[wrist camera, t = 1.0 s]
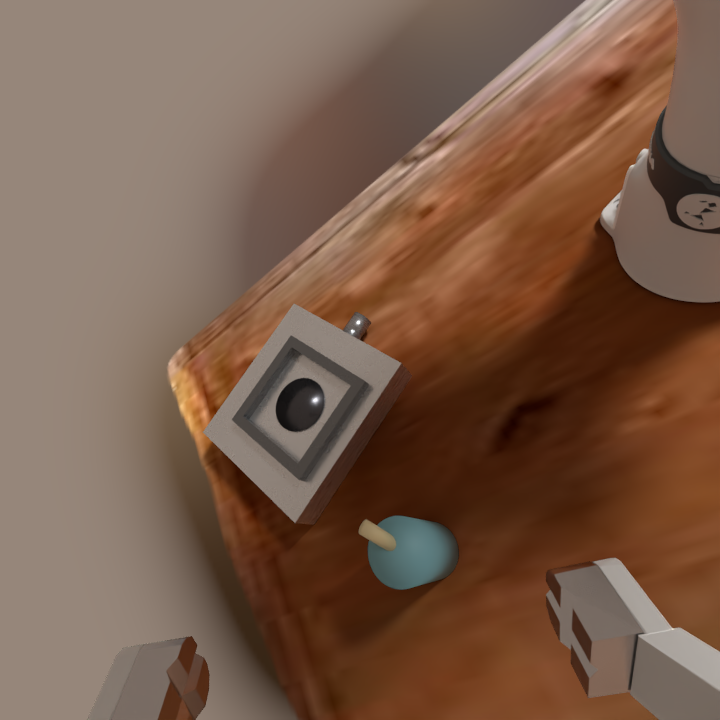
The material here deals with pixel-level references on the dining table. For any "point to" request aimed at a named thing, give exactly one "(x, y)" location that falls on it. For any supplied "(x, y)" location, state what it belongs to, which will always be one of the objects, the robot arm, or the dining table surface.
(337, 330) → the ball socket block
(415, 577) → the spout can
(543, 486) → the dining table surface
